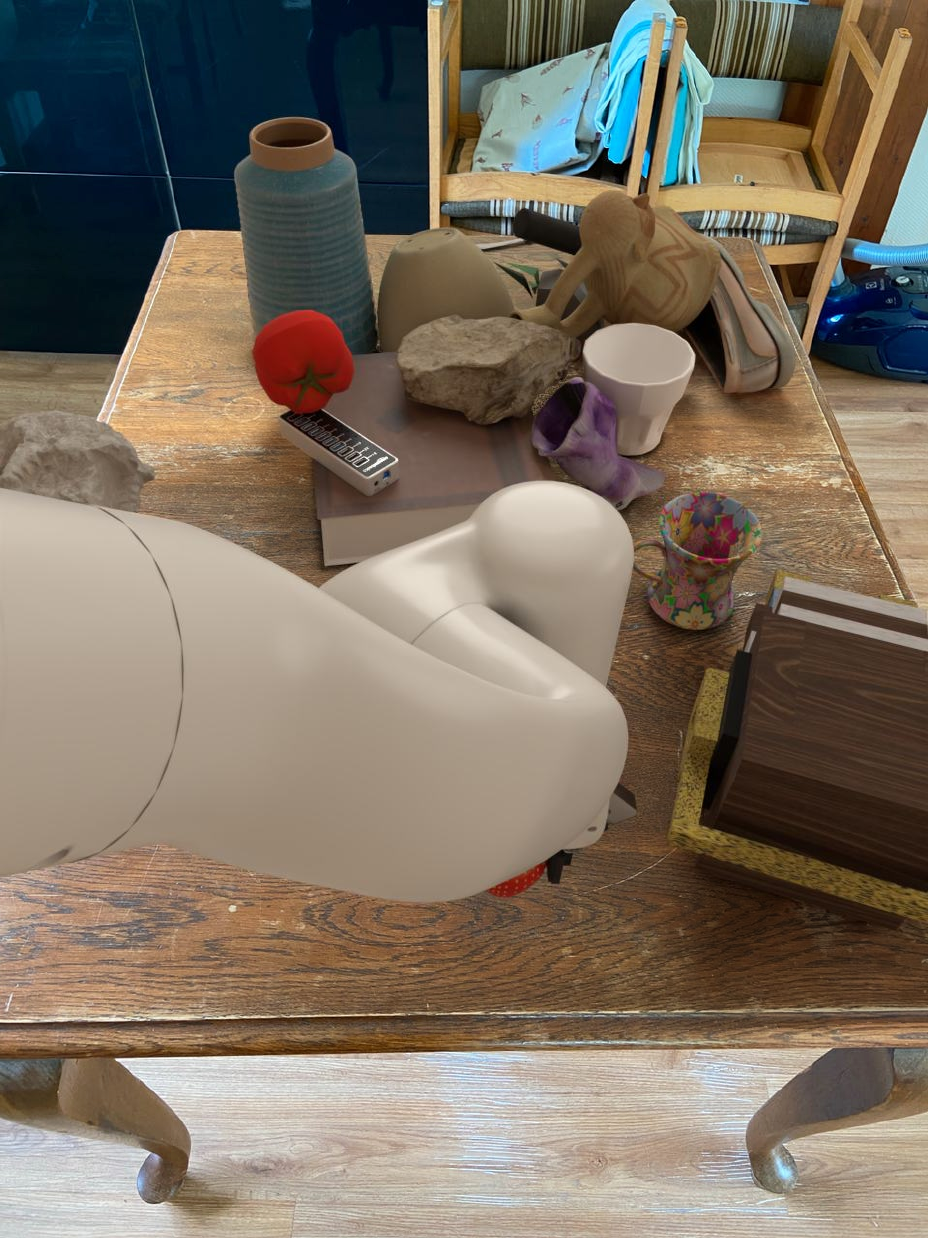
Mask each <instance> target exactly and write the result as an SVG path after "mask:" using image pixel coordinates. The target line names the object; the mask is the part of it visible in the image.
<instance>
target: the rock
mask: <svg viewBox="0 0 928 1238" xmlns="http://www.w3.org/2000/svg"><path fill="white" fill-rule="evenodd" d="M580 354H581V345H580V342H579V340H578V339H576V338H575V337H571V336H569V335H567V334H565V333H563V332H561V331H559V330H556V329H553V328H551V327H548V326H545V325H537V324H536V323H533V322H528V321H523V320H517V319H513V318H508V317H500V316H498V317H491V318H487V319H479V320H473V319H462V318H461V317H460V316H459V315H457V314H454V315H452V316H449V317H444V318H439V319H436V320H433V321H431V322H429V323H427V324H423V325H421V326H419V327H417V328H416V329H414V330H412V331H411V332H410V333H408V334H407V335H406V336H404V337H403V340H402V341H401V344H400V347H399V349H398V351H397V357H396V359H397V364H398V370H399V373H400V376H401V378H402V381H403V384H404V389H405V392H404V394H405V397H406V398H408V399H410V400H413V401H417V402H421V403H426V404H431V405H434V406H438V407H442V408H446V409H454V410H458V411H461V412H463V413H464V414H465V416H466V418H467V419H468V420H469V421H475V422H476V423H478V424H480V425H484V426H485V425H487V424H491V423H495V422H498V421H499V420H501V419H503V418H507V417H510V416H511V415H512V416H514V417H520V418H523V417H525V416H526V415H528V413H529V412H530V410H531V409H532V408H533V407H534V406H535V403H534V402H535V400H536V399H537V398H538V397H539V396H540V395H542V394H544V393H545V392H546V390H547V389H548V388H549V387H551V386H553V387H555V386H557V385H559V384H560V382H561V381H564V380H565V379H566V377H567V375H568V373H569V370H570V367H571V366H572V363H571V362H573V361H574V360H576V359H577V357H578V356H579V355H580Z"/></svg>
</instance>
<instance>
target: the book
mask: <svg viewBox="0 0 928 1238" xmlns="http://www.w3.org/2000/svg"><path fill="white" fill-rule="evenodd" d="M396 357H397V352H387V353H382V352H377V353H371V354H362V355H352V359H353V365H354V375H353V379H352V382H351V384H350V386H349V388H348V390H346V391H344V392H341V393H334V394H333V395H332V397H331V399H330V400H329V402H328V403H327V405H326V407H324V408H322V409H323V410H325V411H326V412H328V413H329V414H331V415H332V416H334V417H335V418H337V419H338V420H340V421H341V422H343V423H344V424H346V425H347V426H349V427H350V428H352V429H353V430H355V431H356V432H358V433H359V434H361V435H363V436H364V437H366V438H367V439H369V440H370V441H372V442H373V443H375V444H376V445H378V446H379V447H381V448H382V449H384V450H385V451H387V452H388V453H390V454H391V455H393V456H394V457H396V458H397V459H398V466H399V479H398V480H396V481H395V482H393V483H391V484H390V485H388V486H386V487H385V488H383V489H382V490H380V491H378V492H377V493H375V494H373V495H372V496H366V495H364V494H363V493H362V492H360V491H359V490H357V489H356V488H355V487H353V486H352V485H350V484H349V483H347V482H346V481H345V480H343V479H342V478H340V477H339V476H338V475H336V474H335V473H333V472H332V471H330V470H329V469H328V468H326V467H325V466H323V465H322V464H321V463H319V462H318V461H316V460H315V459H313V458H312V465H313V467H312V468H313V479H314V481H313V482H314V493H315V506H316V518H317V520H320V525H321V537H322V549H323V561H324V563H323V564H324V567H329V566H330V567H331V566H338V565H348V564H355V563H356V564H358V563H360V562H362V561H364V560H367V559H369V558H371V557H374V556H376V555H379V554H381V553H384V552H386V551H389V550H392V549H395V548H398V547H400V546H403V545H406V544H409V543H411V542H414V541H417V540H420V539H422V538H425V537H428V536H430V535H433V534H436V533H438V532H441V531H443V530H445V529H448V528H450V527H452V526H455V525H457V524H459V523H462V522H464V521H466V520H468V519H469V518H470V517H471V515H472V514H473V512H474V511H475V510H476V509H477V507H478V506H479V505H480V504H481V503H482V502H483V501H485V500H486V499H487V498H488V497H490V496H491V495H492V494H494V493H496V492H497V491H499V490H501V489H503V488H506V487H508V486H511V485H514V484H518V483H523V482H530V481H557V479H556V476H555V473H554V470H553V468H552V464H551V462H550V457H542V456H541V455H540V454H539V451H538V449H537V448H535V447H534V445H533V444H532V443H533V442H532V428H533V420H534V418H535V414H534V411H533V409H532V408H531V410H530V412H529V413H528V415H526V416H525V417H523V418H520V417H514V416H512V415H511V416H510V417H507V418H503V419H501V420H499V421H498V422H495V423H491V424H487V425H485V426H484V425H480V424H478V423H476V422H475V421H469V420H468V419H467V418H466V416H465V414H464V413H463V412H461V411H458V410H454V409H446V408H442V407H438V406H434V405H431V404H426V403H421V402H417V401H413V400H410V399H408V398H406V397H405V394H404V392H405V389H404V384H403V381H402V378H401V376H400V373H399V370H398V364H397V359H396Z"/></svg>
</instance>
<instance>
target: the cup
mask: <svg viewBox="0 0 928 1238" xmlns="http://www.w3.org/2000/svg"><path fill="white" fill-rule="evenodd" d="M582 354H583V359H582V370H583V371H582V372H583V374H582V375H583V380H584V382H590V383H592V384H593V385H594V386H595V387H596V388H597V389H598V390H599V391H601V392H602V393H603V394H605V395H606V396H608V397H609V398H610V399H611V400H612V402H613V403H614V405H615V408H616V413H617V416H616V430H617V454H618V455H619V456H639V455H643V454H646V453H649V452H651V451H653V450H654V449H655V448H656V447H657V446H658V445H659V444H660V443H661V440H662V439H661V438H662V435H663V433H664V430H665V428H666V425H667V423H668V421H669V419H670V416H671V415H672V412H673V410H674V408H675V405H676V404H677V403H678V402H679V401H680V400H681V399H682V398H683V396H684V393H685V391H686V389H687V386H688V384H689V381H690V379H691V376H692V374H693V371H694V369H695V363H696V354H695V351H694V350H693V348H692V347H691V345H690V343H689V342H688V341H687V340H686V339H684V338H682V337H681V336H680V335H678V334H677V333H676V332H675V333H674V332H672V331H669V330H666V329H663V328H660V327H658V326H655V325H647V324H639V323H627V324H614V325H611V324H610V325H608V326H606V327H604V328H603V329H600V330H597V331H596V332H595V333H594V334H593V335H591V336H590V337H589V338H588V339H587V340H586V341H585V344H584V348H583V352H582Z"/></svg>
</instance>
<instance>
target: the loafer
mask: <svg viewBox="0 0 928 1238" xmlns="http://www.w3.org/2000/svg"><path fill="white" fill-rule="evenodd" d="M698 233H699V234H700V235H702V236H703V237H705V238H706V239H708V240H709V241H711V242H712V243H713V244H714V245H715V246H716V247H718V250H719V252H720V256H721V263H722V266H721V268H720V272H719V275H718V279H717V282H716V285H715V288H714V290H713V293H712V295H711V297H710V299H709V301H708V303H707V304H706V306H705V307H704V309H703V310H702V311H701V312H700V313H699V315H698V316H697V317H696V318H695V319H694V320H693V321H692V322H691V323H690V324H689V325H687V326H686V327H684V328H683V329H681V330H680V331H682V332H683V333H684V334H685V335H687V336H688V337H689V339H690V341H691V342H692V344H693V345H694V347H695V349H696V350H697V352H698V354H699V356H700V357H701V359H702V361H703V362H704V364H705V365H706V367H707V369H708V370H709V372H710V373H711V375H712V377H713V380H714V381H715V383H716V384H717V386H718V388H719V389H720V391H721V392H723V394H733V393H737V394H747V393H748V394H751V393H756V392H760V391H762V390H766V389H768V390H774V389H775V390H776V389H779V388H783V387H785V386H787V385H788V384H789V382H790V381H791V380H792V378H793V376H794V374H795V370H796V366H797V365H796V364H797V358H796V357H797V354H796V347H795V345H794V342H793V340H792V338H791V336H790V334H789V332H788V331H787V329H786V328H785V327H784V325H783V324H782V322H781V321H780V320H779V319H778V317H777V316H776V314H775V313H774V312H773V310H772V309H771V307H770V306H769V304H768V303H764V302H761V301H760V300H758V299H756V298H754V296H752V295H751V293H750V292H749V290H748V288H747V287H746V285H745V281H744V273H743V272H742V270H741V268H740V266H739V265H738V263H737V262H736V261H735V259H734V258H733V256H732V255H731V254H730V253H729V251H728V250H727V249H726V248H724V246H723V245H722V244H721V243H720V242H718V241H717V240H716V239H714V238H713V237H711V236H709V235H706V234H704V233H701V232H698Z"/></svg>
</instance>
